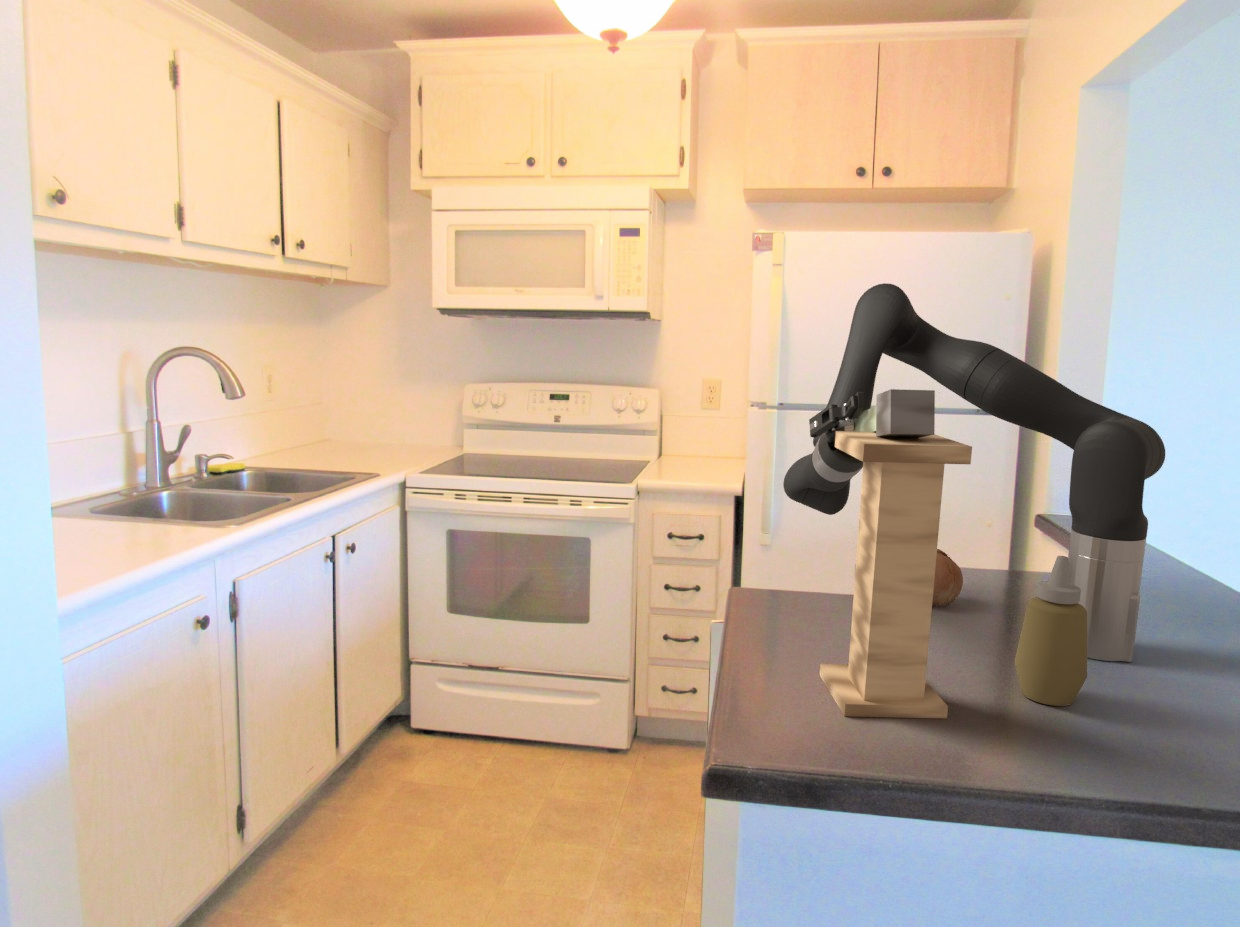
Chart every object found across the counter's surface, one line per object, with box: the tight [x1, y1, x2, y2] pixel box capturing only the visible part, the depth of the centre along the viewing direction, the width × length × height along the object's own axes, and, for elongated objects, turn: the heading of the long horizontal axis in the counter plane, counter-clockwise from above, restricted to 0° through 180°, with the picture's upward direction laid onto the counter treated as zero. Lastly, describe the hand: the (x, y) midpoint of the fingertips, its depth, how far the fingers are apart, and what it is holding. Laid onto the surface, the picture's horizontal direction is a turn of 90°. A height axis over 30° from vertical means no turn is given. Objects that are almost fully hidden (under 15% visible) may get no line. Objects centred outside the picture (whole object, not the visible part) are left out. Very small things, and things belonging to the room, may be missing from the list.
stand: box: [819, 431, 973, 719], centre depth 102 cm, size 12×12×32 cm
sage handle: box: [854, 388, 936, 438], centre depth 105 cm, size 18×5×5 cm, turn 1°
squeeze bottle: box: [1014, 555, 1088, 707], centre depth 104 cm, size 8×8×18 cm
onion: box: [932, 548, 964, 607], centre depth 140 cm, size 10×9×10 cm
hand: (879, 399), depth 107 cm, fingers open, 4 cm apart
